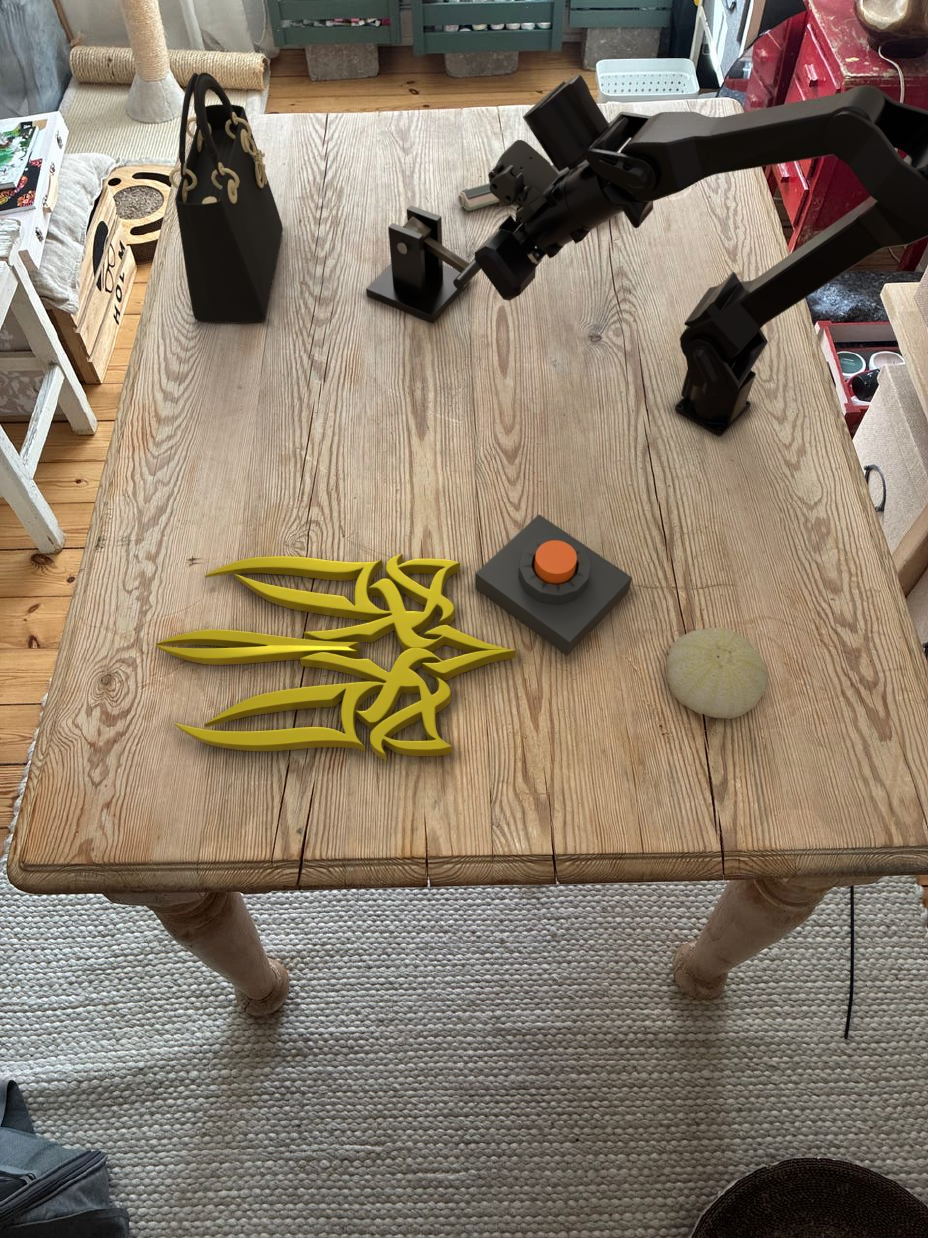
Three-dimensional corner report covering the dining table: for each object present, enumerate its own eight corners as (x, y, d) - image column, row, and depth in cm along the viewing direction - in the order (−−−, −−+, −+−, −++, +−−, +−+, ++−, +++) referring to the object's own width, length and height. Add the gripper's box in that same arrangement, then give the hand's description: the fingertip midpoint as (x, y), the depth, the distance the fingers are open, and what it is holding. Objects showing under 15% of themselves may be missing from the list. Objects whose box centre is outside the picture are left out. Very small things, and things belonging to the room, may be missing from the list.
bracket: (470, 282, 120) (470, 214, 112) (432, 323, 116) (430, 256, 108) (405, 257, 123) (400, 188, 115) (366, 296, 119) (358, 228, 110)
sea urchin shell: (745, 739, 84) (703, 676, 81) (680, 732, 91) (638, 673, 88) (792, 668, 88) (753, 605, 85) (725, 665, 94) (687, 607, 91)
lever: (484, 269, 115) (489, 254, 112) (460, 294, 112) (465, 280, 110) (416, 223, 115) (420, 208, 113) (391, 248, 113) (395, 233, 110)
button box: (628, 592, 95) (635, 566, 91) (567, 656, 91) (571, 632, 87) (537, 529, 99) (540, 502, 95) (475, 588, 95) (475, 562, 91)
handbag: (265, 329, 116) (220, 134, 94) (192, 328, 116) (131, 133, 94) (285, 225, 126) (249, 29, 105) (219, 225, 127) (169, 28, 105)
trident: (515, 757, 83) (128, 747, 84) (514, 764, 85) (133, 754, 86) (516, 555, 95) (176, 548, 96) (515, 564, 97) (180, 557, 97)
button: (583, 565, 92) (585, 555, 90) (557, 591, 90) (559, 580, 88) (551, 543, 93) (553, 533, 91) (526, 568, 91) (527, 558, 90)
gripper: (582, 86, 97) (490, 156, 110) (491, 179, 89) (403, 242, 102) (639, 179, 102) (544, 236, 114) (558, 275, 93) (465, 325, 106)
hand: (491, 257), depth 109 cm, fingers closed
